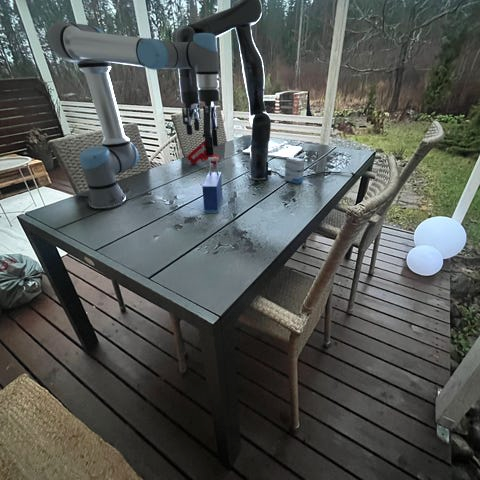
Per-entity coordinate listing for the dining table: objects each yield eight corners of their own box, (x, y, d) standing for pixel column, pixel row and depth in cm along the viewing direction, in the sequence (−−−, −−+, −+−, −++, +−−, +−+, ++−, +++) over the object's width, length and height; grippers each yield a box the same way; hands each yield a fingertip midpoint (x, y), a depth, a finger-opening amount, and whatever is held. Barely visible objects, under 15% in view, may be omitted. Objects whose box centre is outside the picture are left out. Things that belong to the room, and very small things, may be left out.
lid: (209, 174, 122) (207, 155, 117) (221, 174, 121) (220, 155, 117) (202, 188, 107) (200, 167, 103) (216, 189, 107) (215, 167, 103)
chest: (210, 197, 127) (208, 175, 121) (222, 197, 127) (221, 175, 121) (204, 212, 113) (202, 189, 107) (217, 213, 113) (216, 189, 107)
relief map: (291, 159, 177) (291, 151, 174) (243, 153, 190) (243, 145, 187) (302, 149, 197) (303, 142, 194) (258, 144, 211) (258, 137, 208)
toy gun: (224, 159, 165) (208, 138, 162) (221, 161, 162) (205, 139, 158) (204, 174, 175) (189, 154, 172) (201, 176, 172) (186, 156, 168)
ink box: (302, 181, 142) (305, 159, 136) (297, 184, 139) (300, 161, 133) (289, 177, 147) (291, 156, 141) (284, 180, 144) (285, 158, 138)
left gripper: (214, 91, 84) (218, 159, 96) (222, 86, 105) (224, 142, 117) (190, 91, 85) (197, 159, 96) (203, 86, 106) (207, 142, 117)
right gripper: (187, 88, 115) (191, 129, 124) (173, 91, 104) (178, 135, 113) (204, 88, 114) (207, 129, 123) (191, 91, 102) (195, 136, 111)
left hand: (212, 150), depth 106 cm, fingers open, 13 cm apart
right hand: (193, 132), depth 118 cm, fingers open, 8 cm apart
